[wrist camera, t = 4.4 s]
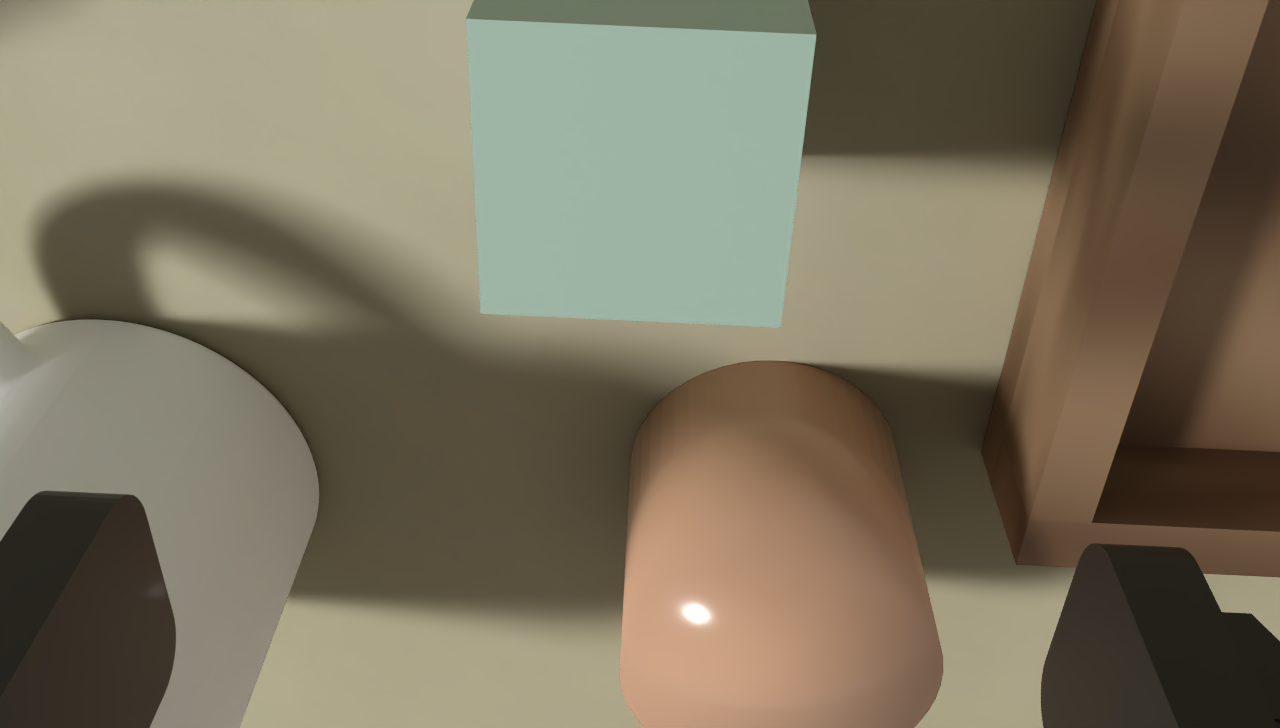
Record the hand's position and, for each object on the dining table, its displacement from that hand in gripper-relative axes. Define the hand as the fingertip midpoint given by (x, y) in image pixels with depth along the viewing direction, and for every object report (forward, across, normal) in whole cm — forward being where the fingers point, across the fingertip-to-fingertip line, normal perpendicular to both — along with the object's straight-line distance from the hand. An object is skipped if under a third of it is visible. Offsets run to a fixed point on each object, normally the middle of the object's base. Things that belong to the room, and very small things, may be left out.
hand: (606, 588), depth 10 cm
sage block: (+14, 0, 0) cm, 14 cm away
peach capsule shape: (+14, -3, +10) cm, 17 cm away
